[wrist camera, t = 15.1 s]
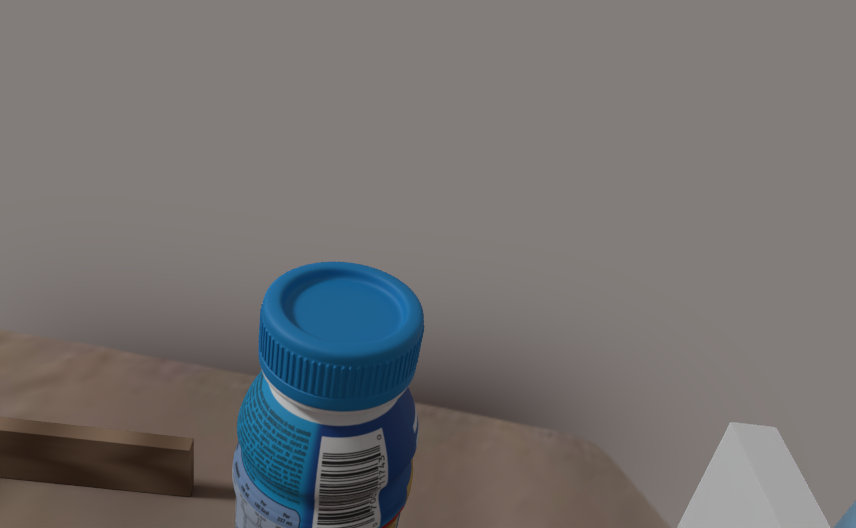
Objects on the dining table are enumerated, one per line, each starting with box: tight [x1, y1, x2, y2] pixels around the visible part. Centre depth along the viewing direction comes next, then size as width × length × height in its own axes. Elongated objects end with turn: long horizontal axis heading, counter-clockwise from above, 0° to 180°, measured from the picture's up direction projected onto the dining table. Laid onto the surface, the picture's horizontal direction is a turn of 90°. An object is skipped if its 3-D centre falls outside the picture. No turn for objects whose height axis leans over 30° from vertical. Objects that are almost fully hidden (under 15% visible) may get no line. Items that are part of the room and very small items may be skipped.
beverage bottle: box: [232, 262, 424, 528], centre depth 36 cm, size 8×8×20 cm
